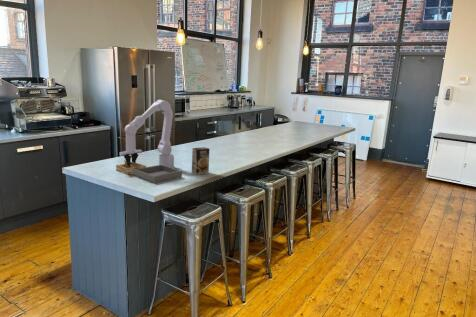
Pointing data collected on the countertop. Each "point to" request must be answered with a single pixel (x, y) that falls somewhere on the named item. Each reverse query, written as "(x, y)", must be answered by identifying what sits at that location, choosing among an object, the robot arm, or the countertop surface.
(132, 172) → the pine crate
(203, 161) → the coffee box
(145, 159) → the countertop surface
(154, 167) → the charcoal crate
